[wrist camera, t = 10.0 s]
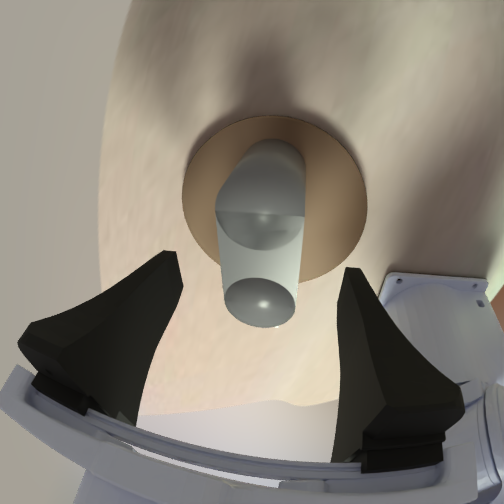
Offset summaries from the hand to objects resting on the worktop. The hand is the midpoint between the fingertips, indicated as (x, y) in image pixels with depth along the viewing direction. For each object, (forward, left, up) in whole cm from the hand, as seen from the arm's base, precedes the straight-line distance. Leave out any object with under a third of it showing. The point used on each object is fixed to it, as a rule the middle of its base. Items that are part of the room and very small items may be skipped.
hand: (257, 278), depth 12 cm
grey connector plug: (0, +1, -6) cm, 6 cm away
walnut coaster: (0, 0, -7) cm, 7 cm away
